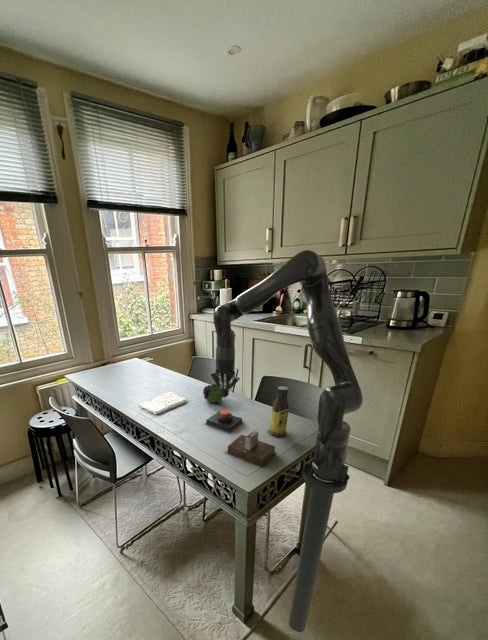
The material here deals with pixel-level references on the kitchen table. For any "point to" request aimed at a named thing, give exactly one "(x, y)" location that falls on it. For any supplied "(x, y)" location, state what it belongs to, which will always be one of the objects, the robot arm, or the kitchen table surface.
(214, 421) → the push button box
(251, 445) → the tap lever
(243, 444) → the base
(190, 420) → the kitchen table surface
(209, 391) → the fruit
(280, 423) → the sauce bottle
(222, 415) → the button
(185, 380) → the kitchen table surface
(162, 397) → the calculator
